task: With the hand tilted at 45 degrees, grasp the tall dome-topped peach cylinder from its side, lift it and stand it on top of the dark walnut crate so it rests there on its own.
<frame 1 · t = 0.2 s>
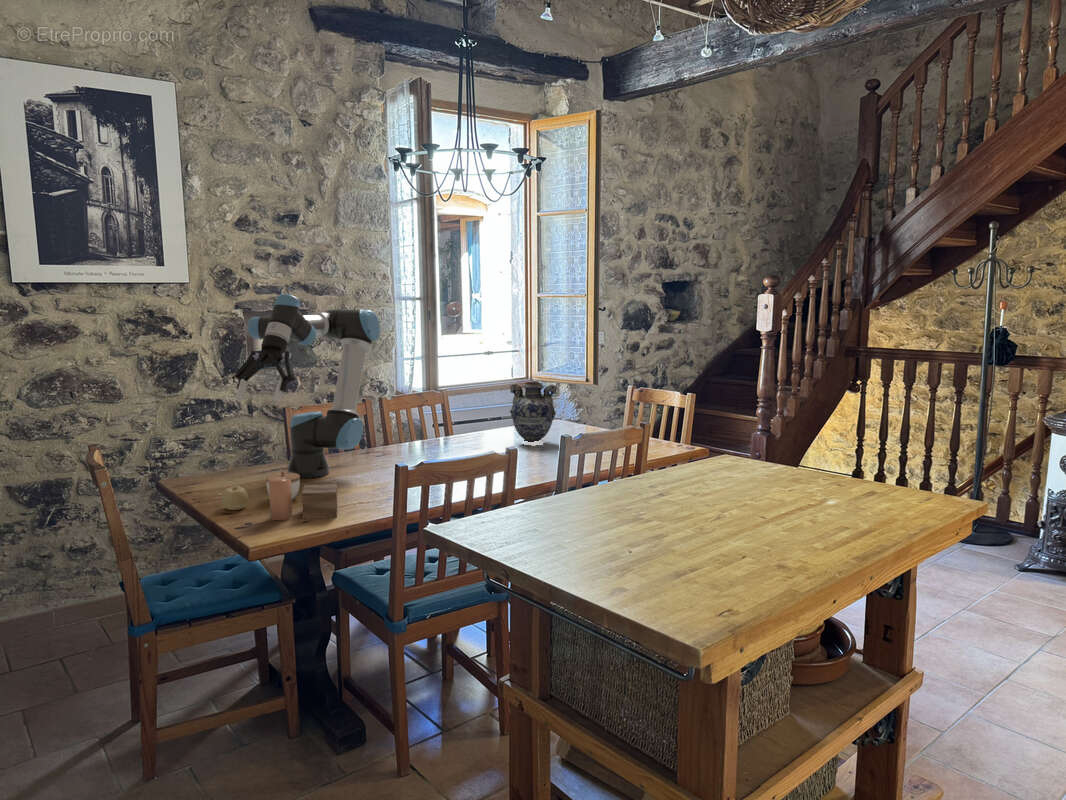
hand: (257, 400, 229), 35 cm above the table, tool tilted 35°, fingers open, 13 cm apart
walnut crate: (320, 513, 234), on the table
lidded jar: (283, 499, 250), on the table
dome-topped peach cylinder: (281, 517, 230), on the table
apple: (235, 509, 239), on the table
decorative vase: (532, 444, 342), on the table
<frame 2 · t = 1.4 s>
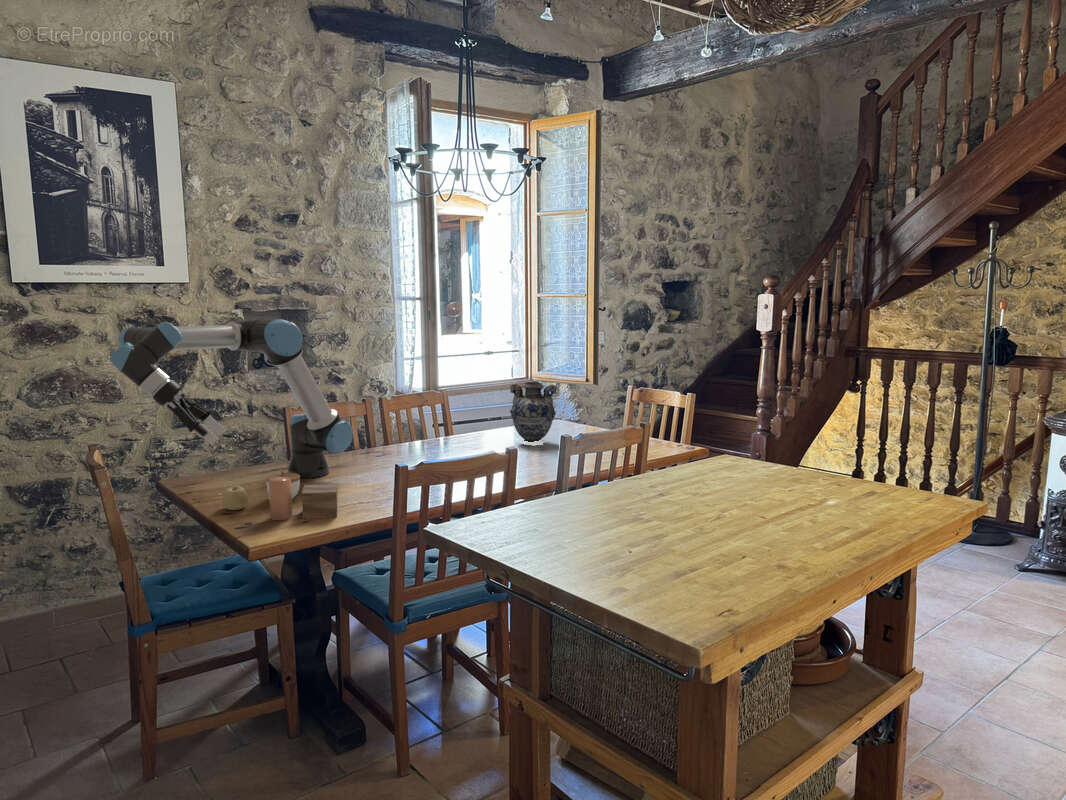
hand: (219, 437, 222), 26 cm above the table, tool tilted 45°, fingers open, 13 cm apart
nothing on the table moved.
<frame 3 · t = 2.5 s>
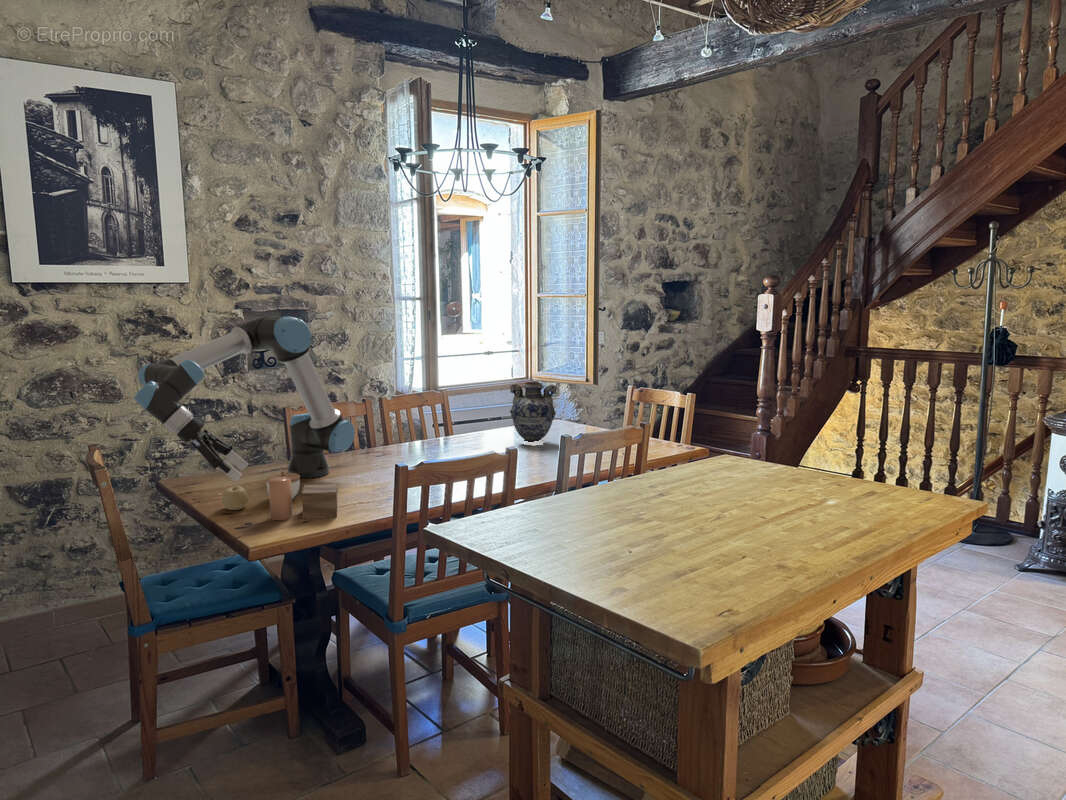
hand: (242, 472, 225), 15 cm above the table, tool tilted 45°, fingers open, 13 cm apart
nothing on the table moved.
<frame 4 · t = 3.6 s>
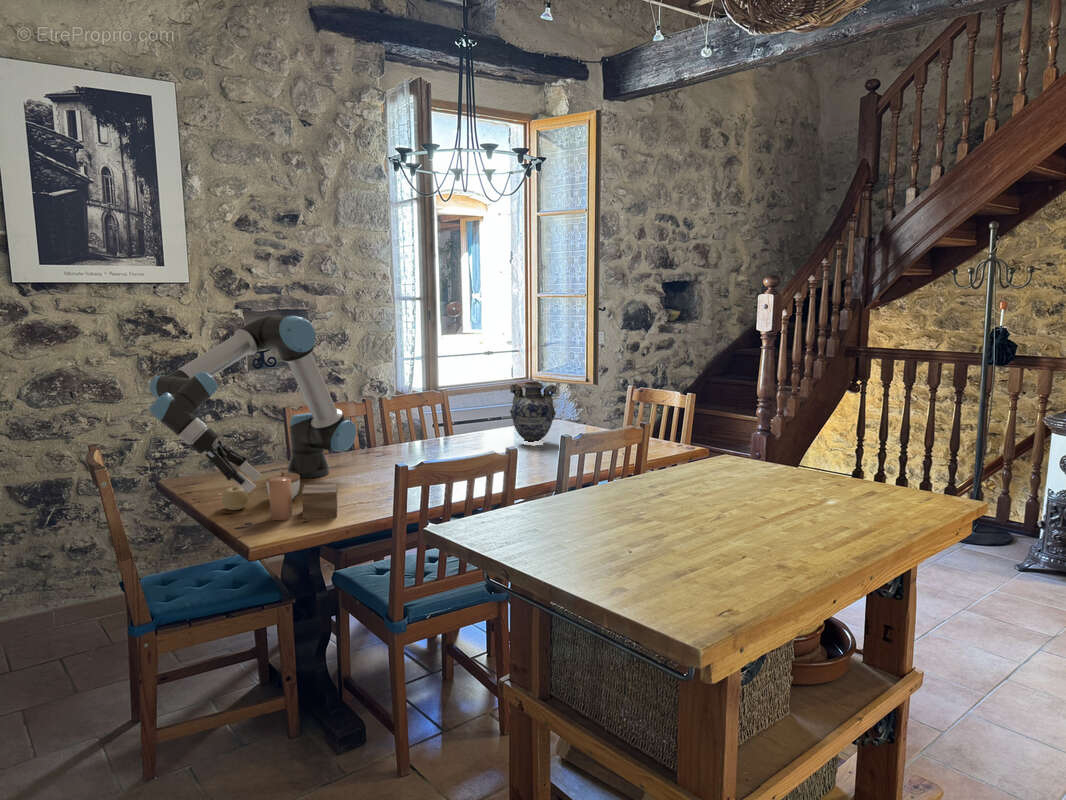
hand: (255, 483, 226), 11 cm above the table, tool tilted 45°, fingers open, 13 cm apart
nothing on the table moved.
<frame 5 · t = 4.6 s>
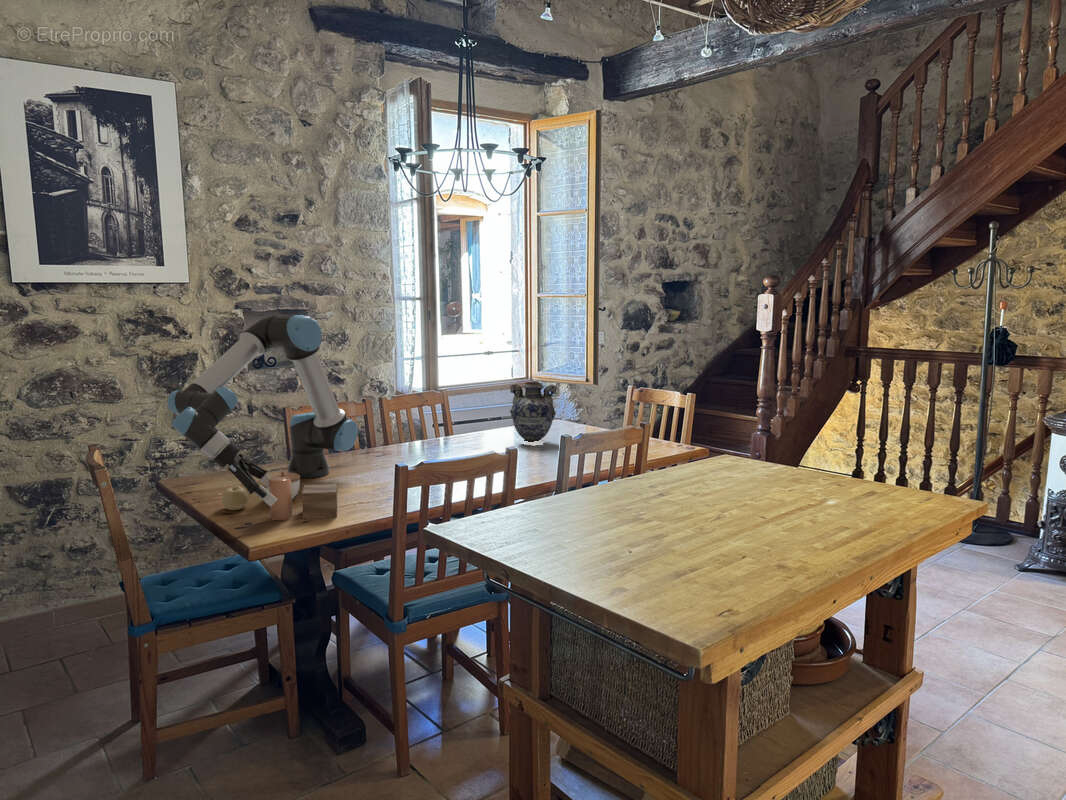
hand: (276, 496, 228), 7 cm above the table, tool tilted 45°, fingers open, 13 cm apart
nothing on the table moved.
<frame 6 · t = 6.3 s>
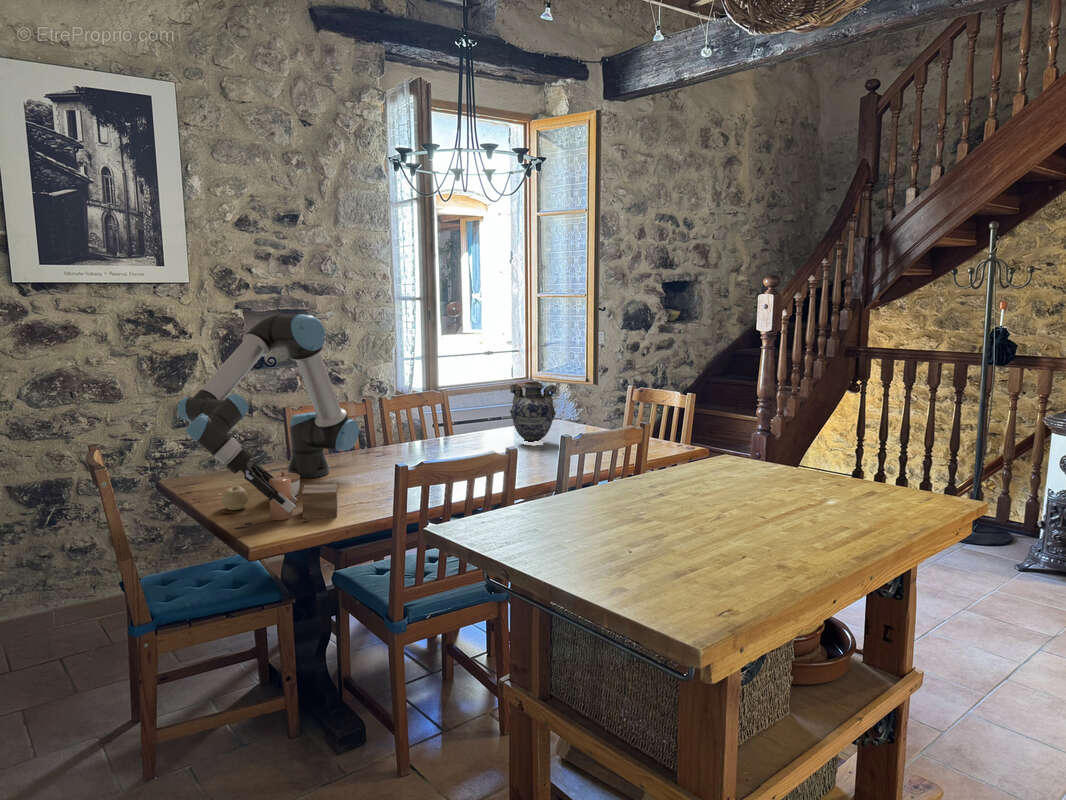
hand: (293, 505, 230), 3 cm above the table, tool tilted 45°, fingers closed on dome-topped peach cylinder, 6 cm apart
dome-topped peach cylinder: (281, 517, 230), on the table, touching gripper
everything else where it was.
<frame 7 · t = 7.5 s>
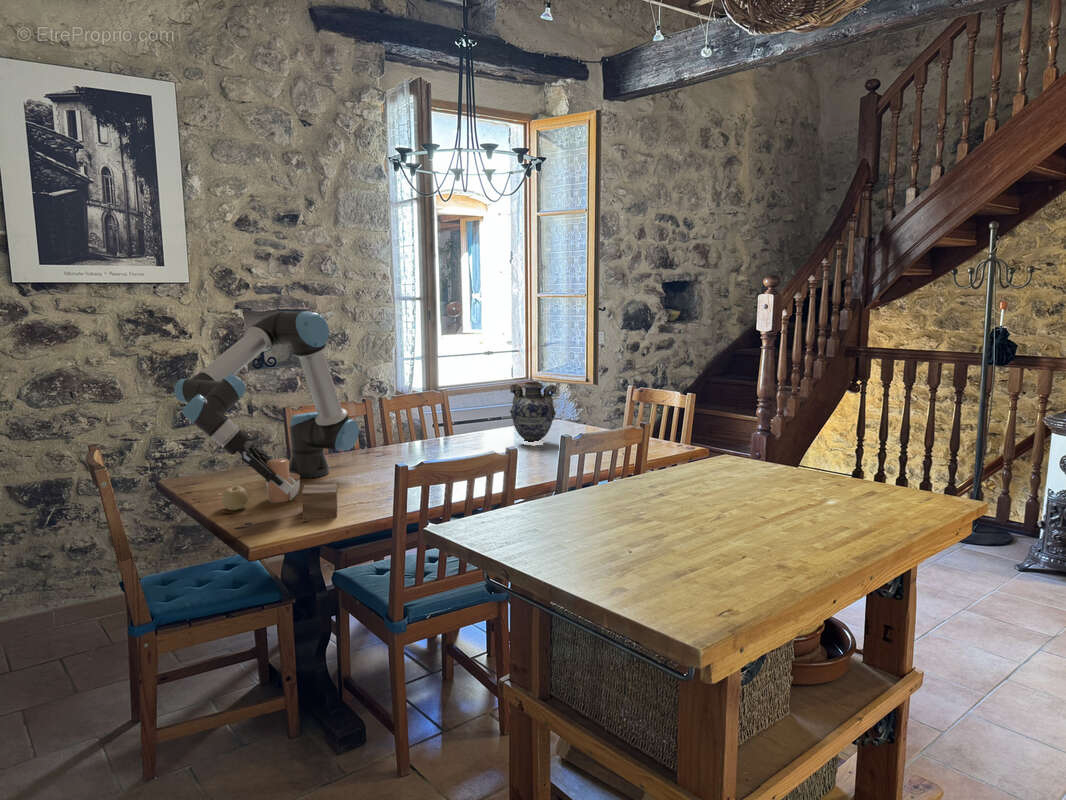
hand: (291, 487, 229), 9 cm above the table, tool tilted 45°, fingers closed on dome-topped peach cylinder, 6 cm apart
dome-topped peach cylinder: (279, 499, 229), point 6 cm above the table, touching gripper
everything else where it was.
when the fingers open (13 cm above the table, at t = 12.4 s): dome-topped peach cylinder drops 1 cm, resting on walnut crate.
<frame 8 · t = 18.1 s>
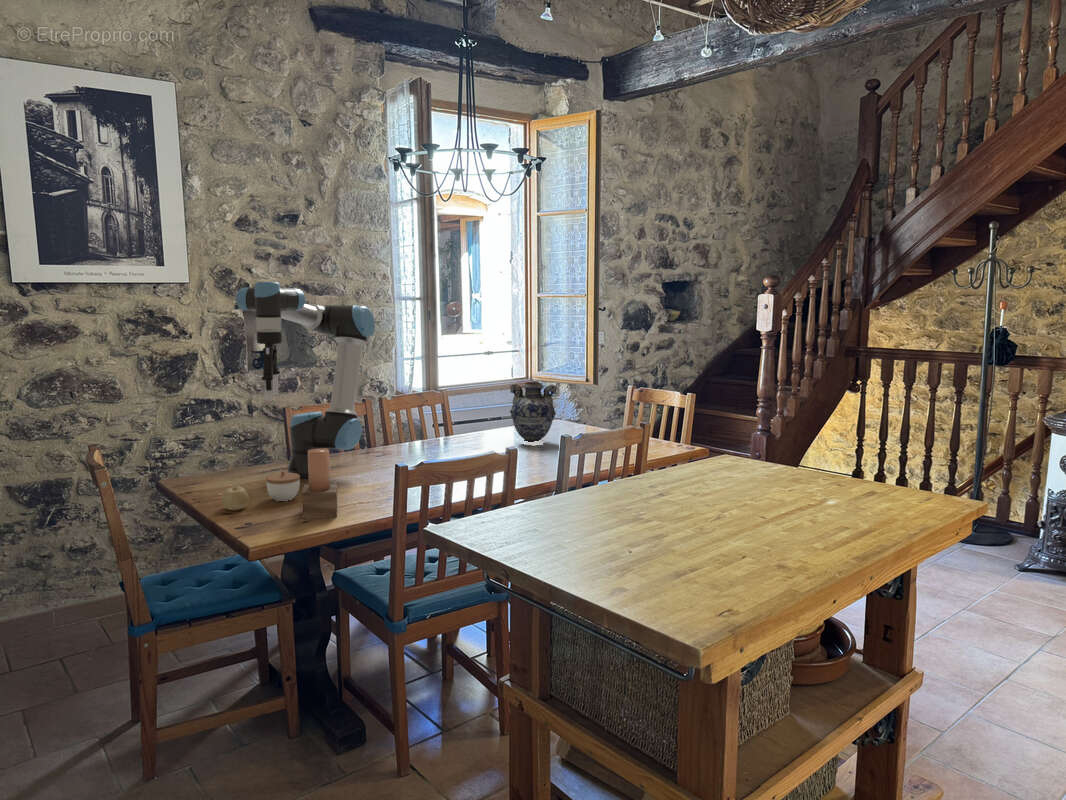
hand: (271, 397, 240), 35 cm above the table, tool pointing down, fingers open, 13 cm apart
dome-topped peach cylinder: (319, 488, 233), point 8 cm above the table, touching walnut crate
everything else where it was.
at the end: dome-topped peach cylinder inside the target area on the walnut crate (0.0 cm from its centre), point 8.0 cm above the walnut crate's base; dome-topped peach cylinder tilted 0°; the gripper is holding nothing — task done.
